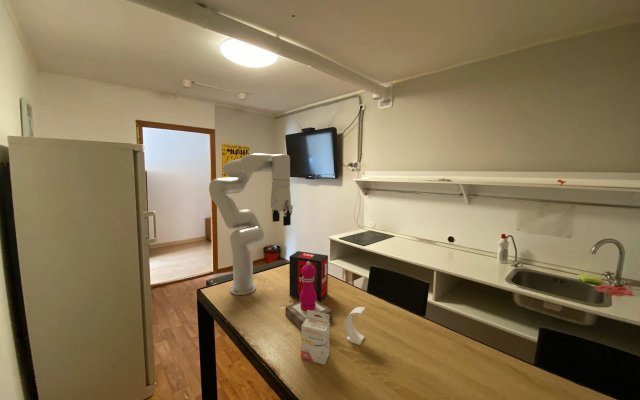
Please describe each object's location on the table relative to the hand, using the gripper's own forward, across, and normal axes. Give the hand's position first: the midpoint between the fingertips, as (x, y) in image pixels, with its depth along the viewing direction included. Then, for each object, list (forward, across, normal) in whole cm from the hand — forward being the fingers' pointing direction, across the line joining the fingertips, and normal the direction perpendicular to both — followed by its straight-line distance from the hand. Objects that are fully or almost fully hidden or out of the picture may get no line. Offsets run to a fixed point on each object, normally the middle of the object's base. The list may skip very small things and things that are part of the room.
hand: (281, 223), depth 111 cm
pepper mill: (+34, +14, +5) cm, 37 cm away
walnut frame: (+38, +14, +5) cm, 41 cm away
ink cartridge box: (+38, +34, -6) cm, 52 cm away
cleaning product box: (+39, -2, +16) cm, 42 cm away
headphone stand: (+38, +35, +11) cm, 53 cm away
